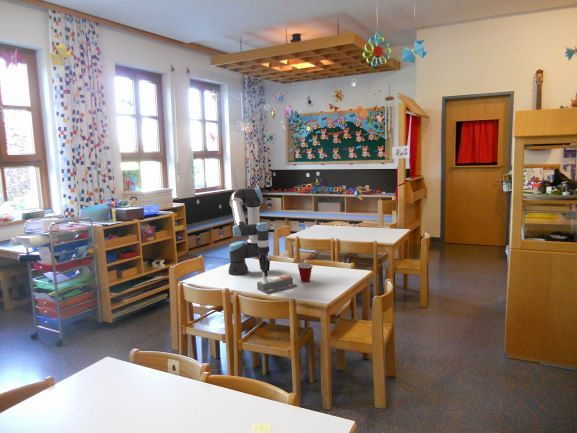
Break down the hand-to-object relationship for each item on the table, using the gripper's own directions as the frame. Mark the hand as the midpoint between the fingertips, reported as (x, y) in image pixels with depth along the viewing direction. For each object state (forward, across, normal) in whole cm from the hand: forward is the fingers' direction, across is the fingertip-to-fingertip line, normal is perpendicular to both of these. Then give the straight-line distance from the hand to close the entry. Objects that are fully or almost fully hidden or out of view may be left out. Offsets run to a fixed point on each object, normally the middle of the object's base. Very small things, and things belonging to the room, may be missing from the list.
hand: (265, 281), depth 290 cm
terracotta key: (+3, 0, +15) cm, 15 cm away
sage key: (+3, 0, 0) cm, 3 cm away
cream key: (+3, 0, +7) cm, 8 cm away
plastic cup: (+6, +3, +30) cm, 31 cm away
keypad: (+6, +2, +7) cm, 10 cm away
